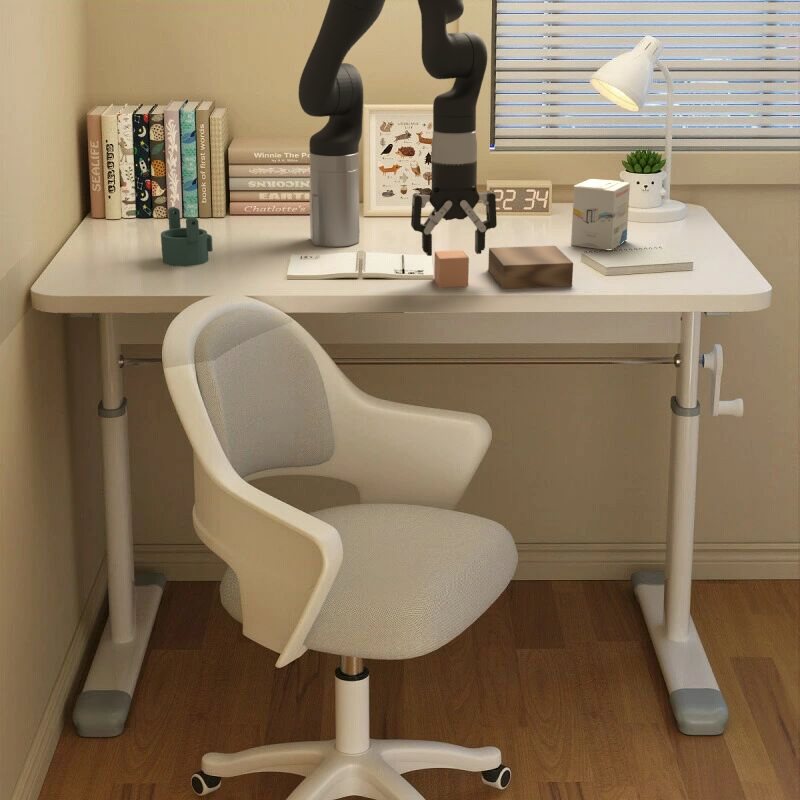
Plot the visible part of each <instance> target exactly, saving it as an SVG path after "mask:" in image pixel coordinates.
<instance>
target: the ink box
mask: <svg viewBox="0 0 800 800" xmlns="http://www.w3.org/2000/svg"><path fill="white" fill-rule="evenodd" d="M630 185H631V183H630V182H624V181H620V180H610V179H598V178H597V179H596V178H590V179H587V180H585V181H582V182H580V183H577V184H575V185H573V198H572V199H573V200H572V202H573V204H572V221H571V239H570V245H571V246H574V247H582V248H589V249H597V250H602V249H613V250H615V249H616V248H618V247H619V246H620V245H619V244H621V243H622V242H623V241H625V240H627V239H628V222H629V206H630V189H631V188H630V187H631V186H630ZM622 244H623V243H622ZM622 244H621V245H622ZM618 245H619V246H618ZM617 246H618V247H617ZM614 248H615V249H614Z"/></svg>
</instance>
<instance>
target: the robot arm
mask: <svg viewBox="0 0 800 800" xmlns="http://www.w3.org/2000/svg"><path fill="white" fill-rule="evenodd" d="M385 3H386V0H329V3H328V6H327V9H326V12H325V15H324V17H323V20H322V24H321V26H320V29H319V32H318V34H317V37H316V40H315V43H314V45H313V46H312V48H311V52H310V53H309V56H308V58H307V60H306V63H305V65H304V68H303V70H302V73H301V76H300V78H299V84H298V101H299V105H300V108H301V109H302V110H303V112H304V113H305V114H306V115H309V116H310V117H317V118H318V117H319V118H321V117H329V118H328V121H327V122H326V124H325V125H324V126H323V127H322V128H321V129H320V130H319V131H317V132H315V133H314V134H313V135H311V137H310V138H309V142H308V143H309V175H310V176H309V178H310V179H309V180H310V183H309V184H310V188H309V189H310V190H309V220H310V221H309V223H310V225H309V226H310V240H311V241H310V242H311V243H312V245H313V246H321V247H335V248H336V247H338V248H339V247H348V246H353V245H355V244H358V243H359V242H360V232H361V231H360V168H359V167H360V166H359V165H360V158H359V157H360V156H359V155H360V153H359V145H360V142H361V138H362V134H363V120H364V119H363V117H364V116H363V115H364V85H363V80H362V76H361V74H360V72H359V70H358V68H357V67H356V66H354V65H353V64H351V63H348V62H344V59H345V57H346V56H347V54H348V53H349V52H350V50H351V49H352V48H353V46H354V45H355V44H357V42H358V41H359V40H360V39H361V38H362V37H363V36H364V35H365V33H366V32H368V30H370V28H371V27H372V26H373V25H374V23H375V22H376V21H377V19H378V18H379V16H380V14H381V13H382V11H383V8H384V6H385ZM417 4H418V7H419V11H420V15H421V16H420V18H421V19H420V20H421V61H422V65H423V67H424V68H425V69H424V70H425V71H426V72H427V73H428V75H429V76H430V77H432V78H434V79H436V80H450V79H455V80H454V83H453V85H452V87H451V89H449V90H448V91H445V92H443V93H440V94H438V95H437V96H436V97H435V98H434V100H433V104H432V105H433V106H432V118H433V119H432V124H433V125H432V140H431V151H430V158H431V191H430V193H429V194H419V193H417V192H415V193H413V194H412V201H411V205H412V206H411V222H410V226H411V228H412V229H413V231H415V232H418V233H421V248H422V251H423V252H424V253H425V255H426V256H427V257H429V256H430V257H431V256H433V234H432V232H433V230H434V228H435V227H436V226H437V225H438V224H439V223H440V222H441V221H442V219H444V220H445V221H453V220H455V219H456V220H465V218H469V220H470V221H471V222H472V224H473V225H474V226H475V228H476V229H475V230H474V252H475V253H476V254H477V255H481V254H482V251H484V250H485V248H486V232H487V231H488V230H490V229H495V228H496V227H497V225H498V222H497V220H498V219H497V203H496V202H497V200H496V199H497V197H496V194H495V193H494V192H493V191H492V190H487V191H485V192H478V189H477V186H478V184H477V180H478V176H477V175H478V171H477V169H478V168H477V167H478V141H477V132H476V131H477V130H476V129H477V122H476V121H477V104H478V99H479V96H480V93H481V88H482V84H483V81H484V77H485V73H486V69H487V66H488V51H487V49H488V48H487V46H486V44H485V41H484V39H483V38H482V37H481V36H480V35H479V34H478V33H476V32H465V31H464V32H454V33H453V32H452V33H448V31H447V25H449V24H451V23H453V22H456V21H457V20H458V19H460V17H461V16H462V15H463V14H464V11H465V10H464V9H465V8H464V7H465V5H464V1H463V0H417ZM479 201H481V204H482V205H484V206H485V212H486V220H483V221H482V220H481V218H480V217H479V216H478V214H477V213H476V212H475V211H474V209H475V207H476V206H477V205H478V203H479ZM428 202H429V203H430V205H431V206H432V207H433V209H432V211H431V212H430V213H429V214H428V218H427V219H426V220H425V222H424V223H422V209H424V208H426V206H427V203H428Z"/></svg>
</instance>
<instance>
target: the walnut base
mask: <svg viewBox="0 0 800 800" xmlns="http://www.w3.org/2000/svg"><path fill="white" fill-rule="evenodd" d="M487 269H488V271H489V272H490V274H491V275H492V277H493V278H494V279H495V280H496V281H497V283H498V284H499V285H500V286H501V288H502V289H519V288H520V289H523V288H527V289H528V288H548V287H549V288H551V287H571V286H573V277H574V276H573V273H574V262H573V261H572V260H571V259H570V258H569V257H567V255H565V253H563V252H562V250H561V249H559V248H558V247H557V246H556V245H537V246H535V245H534V246H533V245H532V246H529V245H528V246H509V247H508V246H505V247H504V246H503V247H502V246H501V247H488V267H487Z"/></svg>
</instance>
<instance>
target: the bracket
mask: <svg viewBox="0 0 800 800" xmlns="http://www.w3.org/2000/svg"><path fill="white" fill-rule="evenodd" d="M167 216H168V229H167V230H164V231H161V233H160V243H161V257H162V263H163V264H164V265H168V266H172V267H191V266H192V267H193V266H198V265H199V266H200V265H203V264H206V263H208V261H209V260H210V259H209V252H213V236H212V235H211V234H209V233H208V231H207V230H205V229H203V228H200V226H199V225H200V224H199V220H198V218H196V217H194V216H188V217H187V218H186V220H185V226H186V227H181V225H182V224H181V211H180V209H179V208H177V207H176V206H170V207H169V208H168V209H167Z"/></svg>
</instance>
